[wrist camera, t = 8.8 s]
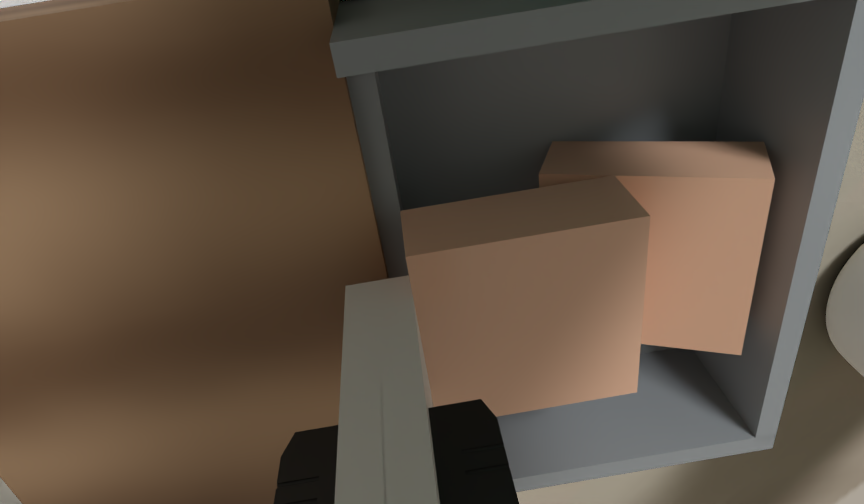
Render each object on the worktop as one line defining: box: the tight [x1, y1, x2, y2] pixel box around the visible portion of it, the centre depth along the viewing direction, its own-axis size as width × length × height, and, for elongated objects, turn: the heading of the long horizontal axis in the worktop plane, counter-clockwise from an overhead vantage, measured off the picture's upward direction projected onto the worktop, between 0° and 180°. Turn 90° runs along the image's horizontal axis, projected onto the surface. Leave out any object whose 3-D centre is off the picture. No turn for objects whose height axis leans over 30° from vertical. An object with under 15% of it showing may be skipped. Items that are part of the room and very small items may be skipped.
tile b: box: [539, 141, 775, 355], centre depth 15 cm, size 5×5×2 cm
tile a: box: [400, 175, 650, 417], centre depth 14 cm, size 5×5×2 cm
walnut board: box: [0, 0, 389, 504], centre depth 16 cm, size 15×12×3 cm
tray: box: [329, 0, 864, 492], centre depth 15 cm, size 13×10×4 cm
